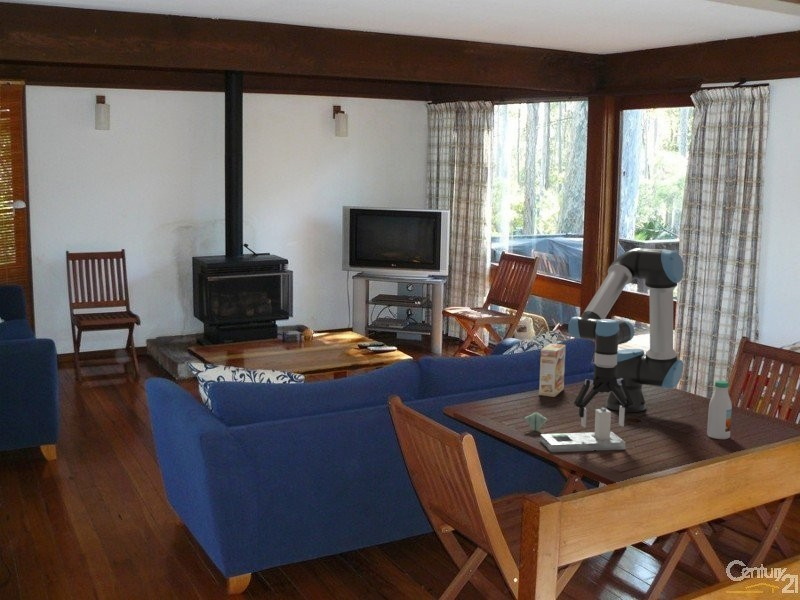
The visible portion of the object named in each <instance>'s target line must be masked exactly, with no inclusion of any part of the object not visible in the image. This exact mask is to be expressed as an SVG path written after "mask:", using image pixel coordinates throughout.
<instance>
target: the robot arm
mask: <svg viewBox="0 0 800 600" xmlns="http://www.w3.org/2000/svg"><path fill="white" fill-rule="evenodd" d="M684 270H685V269H684V262H683V258H682V255H680V253H679V252H678V251H676V250H669V249H664V248H663V249H662V248H661V249H660V248H644V247H635V248H632V249H629V250H627V251H625V252H623V253H622V254H620V255H619V256H618V257H617V258H616V259H615V260H613V262H612V263H611V264H610V265H609V267H608V269H607V276H606V277H605V279H604V280H603V282H602V283H601V285H600V286H599V288H598V289H597V291H596V292H595V294H594V296H593V297H592V299H591V300H590V302H589V303H588V305H587V306H586V308H585V310H584V311H583V313H582V315H581V316H572V317H571V318H570V320H569V322H568V327H567V328H568V329H567V330H568V334H569V335H570V336H571V337H573V338H577V339H580V340H587V341H588V340H589V341H595V344H594V345H595V347H594V361H593V362H594V364H595V365H593V378H592V379H588V378H584V380H583V385H582V387H581V388H580V390H579V393H578V395H577V396H576V398H575V400H574V402H573V405H574V406H575V407H577V408H578V416H579V417H580V426H581V427H582V428H586V426H587V411H588V409H587V408H586V407H587V405H588V404H589V403H590V402H591V401H592V400H593V398H595V396H596V395H598V394H599V393H601V394H602V393H608V395H607V397H606V401H605V405H606V406H605V407H606V408H608V410H609V409H610V410H613V411H616V412H618V414H619V415H618V425H619V426H620V427H625V417H627V415H628V413H638V412H643V411H645V410H646V404H647V403H646V400H645V397H644V393H643V385H644V386H649V387H650V386H651V387H656V388H661V389H667V390H669V389H670V390H672V389H674V388H676V387H677V386H678V384H679V383H680V381H681V379H682V376H683V372H684V363H683V360H682V359H680V358H678V352H677V351H676V350H675V349H674V290H675V289H676V288H677V287H678V283H680V282H681V281H682V279H683V277H684V275H683V274H684ZM635 279H636V280H638V279H640V280H644V286H645V287H646V288H647V289H648V290H649V291H648V292H649V294H648V295H649V298H648V299H649V349H648V350H647V351H646V353H645V351H644V349H640V348H627V349H626V348H625V349H620V350H619V349H618V348H619V345H622V344H626V343H628V342H629V341H631V340H633V338H634V336H635V333H636V332H635V327H634V325H633V324H632V323H630V322H629V321H626V320H619V321H618V320H616V319H613V318H612V319H611V318H610V319H609V318H607V316H608V314H609V312H610V311H611V310H612V308H613V306H614V304H615V303H616V301H617V300H618V299H619V296H620V295H621V294H622V291H624V288H625V287H626V286H627V285H629V284H630V283H632V281H633V280H635ZM592 385H593V386H592ZM591 386H592V388H591V389H590V387H591ZM589 389H590V391H589ZM588 391H589V392H588Z"/></svg>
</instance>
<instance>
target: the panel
mask: <svg viewBox="0 0 800 600" xmlns="http://www.w3.org/2000/svg"><path fill="white" fill-rule="evenodd" d="M594 432H595V431H594ZM594 432H588V431H587V432H566V433H563V432H562V433H541V434H540V435H539V436H540V438H539V439H540V440H539V442H540V443H541V444H543V446H544V447H545V446H546V447H547V448H546V447H545V448H546V449H548V451H549V452H550V453H563V452H564V453H565V452H588V451H590V452H591V451H594V450H596V451H615V450H616V451H617V450H619V451H621V450H626V441H624V440H623V439H622V438H621V437H620V436H618V435H617V434H616V433H614V432H613V431H610V440H596V439H595V438H594Z"/></svg>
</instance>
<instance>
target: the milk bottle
mask: <svg viewBox="0 0 800 600" xmlns="http://www.w3.org/2000/svg"><path fill="white" fill-rule="evenodd" d="M729 386H730V383H729V382H728V381H726V380H716V381H715V382H714V388H715V390H714V392H713V394H712V396H711V398H710V400H709V405H708V415H707V416H708V417H707V426H706V427H707V428H706V429H707V430H706V435H707V436H708V437H709V438H711V439H716V440H727V439H730V437H731V425H732V412H733V411H732V409H733V407H732V406H733V403H732V400H731V397H730V395H729V389H730V388H729Z"/></svg>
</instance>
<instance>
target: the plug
mask: <svg viewBox="0 0 800 600" xmlns="http://www.w3.org/2000/svg"><path fill="white" fill-rule="evenodd" d="M594 414H595V415H594V438H595V439H596V440H610V432H611V424H612V423H611V421H612V420H611V418H612V412H611V411H610V410H609V409H607V408H606V407H600V408H597V409H596V408H595V413H594Z"/></svg>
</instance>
